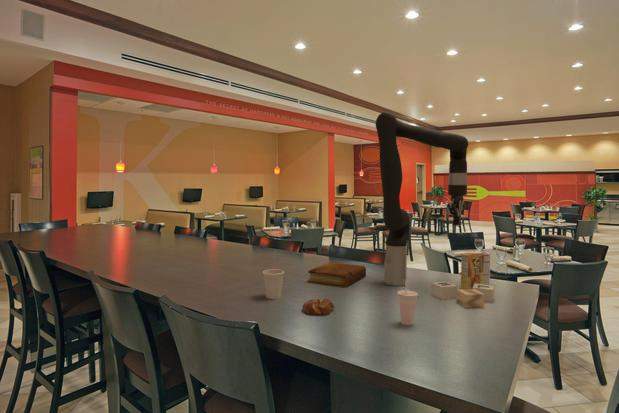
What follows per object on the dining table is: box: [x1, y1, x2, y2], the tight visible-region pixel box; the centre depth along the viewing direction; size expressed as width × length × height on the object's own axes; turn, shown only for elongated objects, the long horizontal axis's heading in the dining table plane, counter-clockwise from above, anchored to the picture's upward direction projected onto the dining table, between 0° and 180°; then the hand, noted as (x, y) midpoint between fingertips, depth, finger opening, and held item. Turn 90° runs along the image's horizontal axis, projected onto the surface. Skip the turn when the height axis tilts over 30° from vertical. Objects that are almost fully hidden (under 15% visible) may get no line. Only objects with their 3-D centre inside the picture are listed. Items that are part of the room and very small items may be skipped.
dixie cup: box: [262, 268, 285, 300], centre depth 148 cm, size 8×8×10 cm
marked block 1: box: [430, 281, 459, 301], centre depth 151 cm, size 7×7×5 cm
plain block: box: [455, 288, 485, 309], centre depth 140 cm, size 7×7×5 cm
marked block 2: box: [473, 283, 495, 304], centre depth 148 cm, size 7×7×5 cm
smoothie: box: [397, 278, 419, 326], centre depth 121 cm, size 6×6×14 cm
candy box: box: [460, 252, 484, 289], centre depth 160 cm, size 9×4×15 cm, turn 116°
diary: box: [307, 261, 367, 289], centre depth 177 cm, size 23×19×6 cm
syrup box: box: [473, 250, 491, 285], centre depth 169 cm, size 6×6×14 cm
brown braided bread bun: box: [302, 298, 335, 316], centre depth 133 cm, size 12×11×4 cm
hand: (456, 224), depth 162 cm, fingers closed
